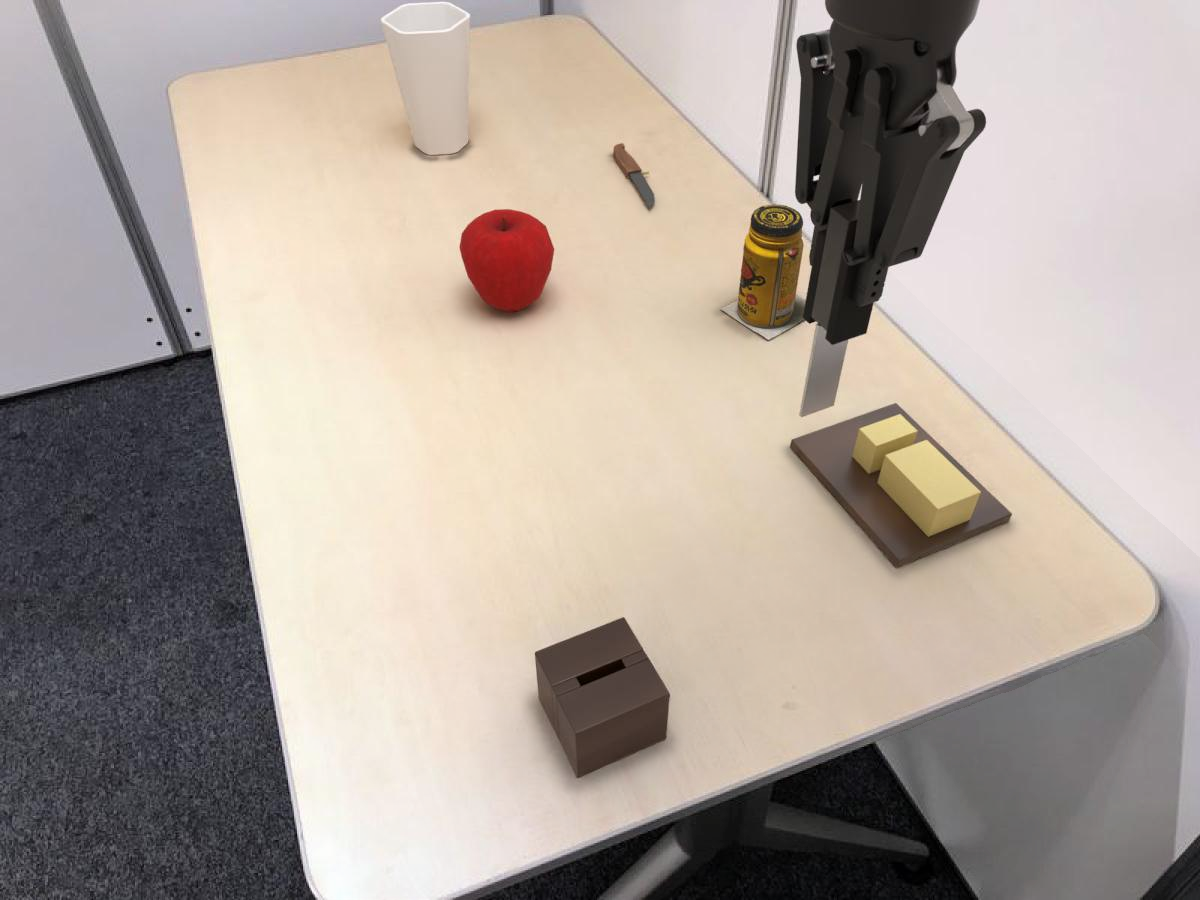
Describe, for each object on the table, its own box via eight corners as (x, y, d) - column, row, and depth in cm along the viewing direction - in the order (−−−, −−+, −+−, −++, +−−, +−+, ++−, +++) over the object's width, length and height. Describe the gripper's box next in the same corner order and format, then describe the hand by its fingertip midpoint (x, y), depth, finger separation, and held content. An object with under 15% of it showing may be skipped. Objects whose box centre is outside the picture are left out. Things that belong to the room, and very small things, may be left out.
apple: (572, 295, 108) (569, 209, 100) (517, 338, 102) (510, 250, 95) (504, 267, 112) (497, 181, 105) (448, 306, 107) (436, 219, 99)
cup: (430, 120, 139) (413, -4, 127) (493, 132, 136) (481, 7, 124) (388, 154, 132) (366, 26, 120) (453, 168, 129) (437, 38, 117)
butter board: (1009, 521, 84) (1012, 513, 83) (896, 568, 80) (899, 560, 79) (893, 410, 94) (896, 402, 93) (789, 447, 90) (791, 439, 90)
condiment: (719, 310, 106) (729, 213, 97) (773, 281, 110) (787, 186, 101) (768, 341, 102) (782, 243, 93) (822, 311, 106) (840, 214, 97)
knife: (672, 200, 120) (649, 204, 120) (672, 208, 121) (649, 212, 120) (628, 141, 132) (608, 144, 131) (628, 148, 132) (608, 151, 132)
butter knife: (840, 412, 68) (886, 211, 57) (807, 424, 67) (847, 222, 56) (825, 397, 69) (867, 197, 58) (792, 408, 69) (829, 207, 57)
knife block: (666, 738, 69) (670, 693, 65) (577, 778, 67) (575, 734, 63) (623, 663, 74) (624, 616, 69) (538, 697, 71) (534, 651, 67)
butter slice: (909, 458, 88) (917, 430, 85) (868, 474, 86) (876, 446, 84) (892, 441, 89) (900, 413, 87) (852, 456, 88) (859, 428, 86)
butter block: (970, 519, 82) (981, 491, 80) (928, 537, 81) (938, 509, 79) (917, 467, 87) (926, 439, 85) (876, 482, 86) (884, 454, 83)
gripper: (764, -97, 50) (725, 281, 67) (958, -4, 41) (856, 410, 57) (880, -115, 53) (815, 254, 69) (1089, -32, 43) (956, 374, 60)
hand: (834, 324), depth 63 cm, fingers closed on butter knife, 2 cm apart
